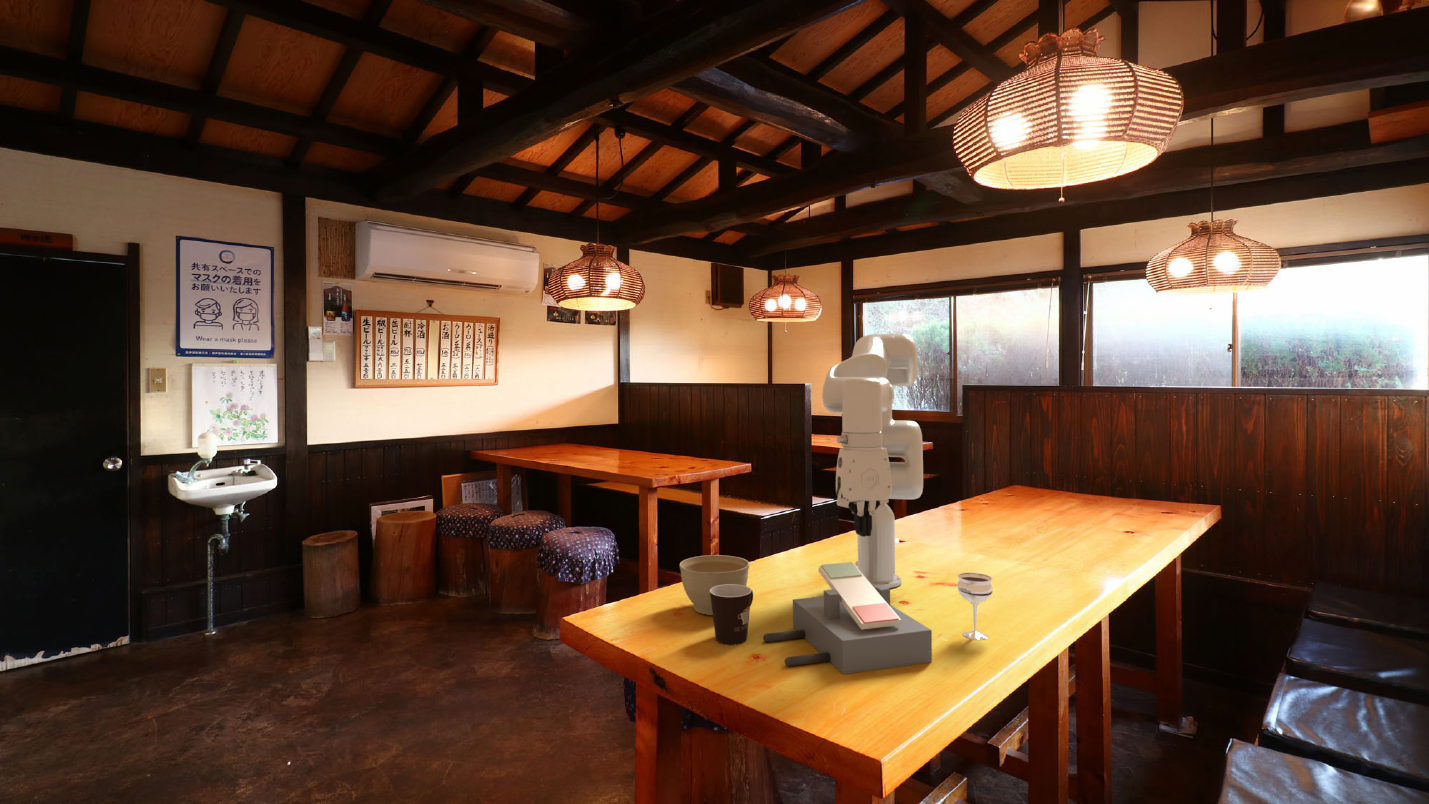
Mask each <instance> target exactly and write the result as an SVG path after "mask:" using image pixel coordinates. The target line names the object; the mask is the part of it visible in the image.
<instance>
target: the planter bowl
mask: <svg viewBox="0 0 1429 804" xmlns="http://www.w3.org/2000/svg"><path fill="white" fill-rule="evenodd" d="M679 569H680V570H679V571H680V577H681V582H682V585H683V589H684V591H685V593H686V596H687V597H688V599H689V600H690V602H691V603H692V604H693V609H694V611H695V612H696V613H698V614H700V613H701V615H705V614H706V616H713V613H712V605H711V597H710V589H711V588H713V587H715V586H718V585H724V584H738V585H744V586H747V584H748V578H749V577H748V576H749V570H750V562H749V561H748V560H747V559H745V558H742V557H739V556H738V557H737V556H731V555H721V554H714V555H712V554H710V555H709V554H708V555H700V556H694V557H689V558H686V559H683V560H682V561H680V563H679Z"/></svg>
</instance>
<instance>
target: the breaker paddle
mask: <svg viewBox="0 0 1429 804" xmlns="http://www.w3.org/2000/svg"><path fill="white" fill-rule="evenodd" d="M818 573H819V574H820V576H821V577H822V578H823V580H824V581H825V582H826V584H827V585H828V586H829V588H830V590H834V591H836V592H837V593H839V594H840V601H841V603H842V604H843V605H844V607H845V608H846V609H847V611H848V612H849V614H850V615H851V616H852V618H853V619H854V620H855V622H856V623H857V624H858V626H859V627H860V628H861V630H862V629H871V628H879V627H888V626H896V625H900V623H901V619H900V618H899V617H898V615H897V614H896V613H895V612H894V611H893V609H892V608H891V607H890V606H889V605H888V604H887V602H886V601H885V600H884V599H883V598H882V596H881V595H880V594H879V593H878V592H877V590H876V589H875V588H874V587H873V586H872V585H871V583H870V582H869V581H868V580H867V579H866V577H865V576H864V575H863V574H862V573H861V572H860V570H859V569H858V567H857V566H856V563H854V562H851V561H849V562H838V563H837V562H836V563H827V564H825V563H824V564H821V565H819V566H818Z"/></svg>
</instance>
